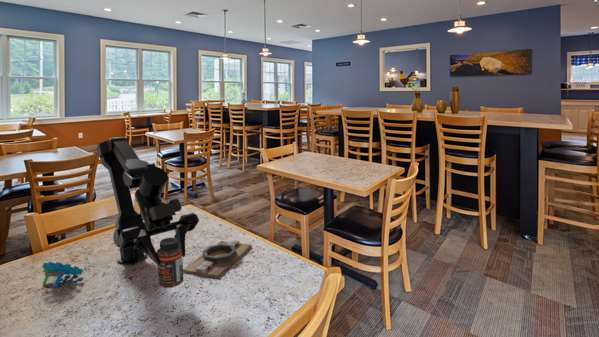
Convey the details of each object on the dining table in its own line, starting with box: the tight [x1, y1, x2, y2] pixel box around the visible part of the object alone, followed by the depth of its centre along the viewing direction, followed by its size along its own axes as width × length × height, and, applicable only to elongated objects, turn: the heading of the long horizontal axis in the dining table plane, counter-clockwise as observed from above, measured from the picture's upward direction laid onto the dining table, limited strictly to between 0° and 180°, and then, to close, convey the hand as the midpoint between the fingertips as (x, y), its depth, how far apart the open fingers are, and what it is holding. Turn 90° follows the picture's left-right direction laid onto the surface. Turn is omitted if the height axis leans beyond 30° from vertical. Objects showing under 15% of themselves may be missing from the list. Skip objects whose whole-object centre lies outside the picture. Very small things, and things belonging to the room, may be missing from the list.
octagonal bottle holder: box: [183, 239, 253, 279], centre depth 109 cm, size 12×22×3 cm, turn 162°
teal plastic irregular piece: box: [41, 261, 84, 288], centre depth 95 cm, size 11×6×10 cm
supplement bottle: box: [156, 237, 184, 289], centre depth 84 cm, size 6×6×11 cm
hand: (171, 260), depth 82 cm, fingers closed on supplement bottle, 6 cm apart
